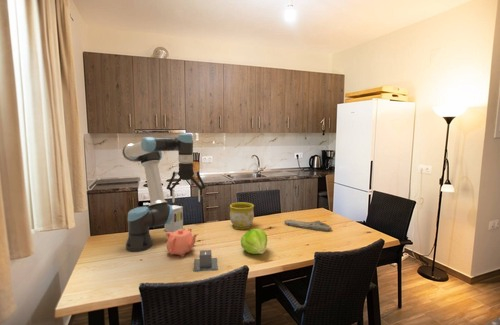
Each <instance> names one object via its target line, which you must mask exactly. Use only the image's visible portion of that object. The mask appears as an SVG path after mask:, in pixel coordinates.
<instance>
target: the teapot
mask: <svg viewBox="0 0 500 325" xmlns="http://www.w3.org/2000/svg"><path fill="white" fill-rule="evenodd" d="M198 235H199V233H194V234H193V233H192V228H188V229H187V230H186V229H184V228H183V229H179V230H177V231H175V232H173V233H172V232H168V231H166V233H165V236H166V238H167V243H166V251H167V252H168V253H170V256H174V255H178V256H179V257H180V258H181V257H185V255H186V254H188V253H190V252H192V250H193V248H194V246H195V244H196V238H197V236H198Z"/></svg>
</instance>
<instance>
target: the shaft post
mask: <svg viewBox="0 0 500 325" xmlns="http://www.w3.org/2000/svg"><path fill="white" fill-rule="evenodd" d="M217 270H219V268H218V257H212V266H206V267H200V258H194V261H193V272H206V271H217Z"/></svg>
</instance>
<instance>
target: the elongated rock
mask: <svg viewBox="0 0 500 325" xmlns="http://www.w3.org/2000/svg"><path fill="white" fill-rule="evenodd" d="M284 225H285V226H291V227H294V226H295V228H300V229H308V230H313V231H320V232H323V231H324V232H330V231H331V230H332V226H331V225H329V224H327V223H324V222H322V221H320V220H316V221H309V222H307V221H301V220H293V219H287V220H284Z"/></svg>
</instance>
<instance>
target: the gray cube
mask: <svg viewBox="0 0 500 325" xmlns="http://www.w3.org/2000/svg"><path fill="white" fill-rule="evenodd" d="M212 258H213V257H212V249H204V250H203V249H202V250H199V259H200V267H206V266H212Z"/></svg>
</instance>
